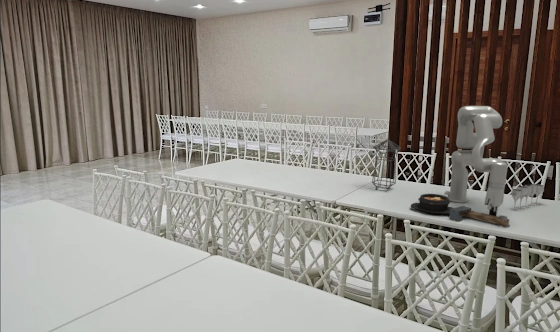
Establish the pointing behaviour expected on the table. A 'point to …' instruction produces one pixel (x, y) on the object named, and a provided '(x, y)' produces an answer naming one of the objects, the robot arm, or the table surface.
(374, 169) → the geometric lantern
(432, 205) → the casserole
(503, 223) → the brown wooden bar
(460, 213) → the keeper
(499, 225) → the pintle plate
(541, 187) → the goblet set
